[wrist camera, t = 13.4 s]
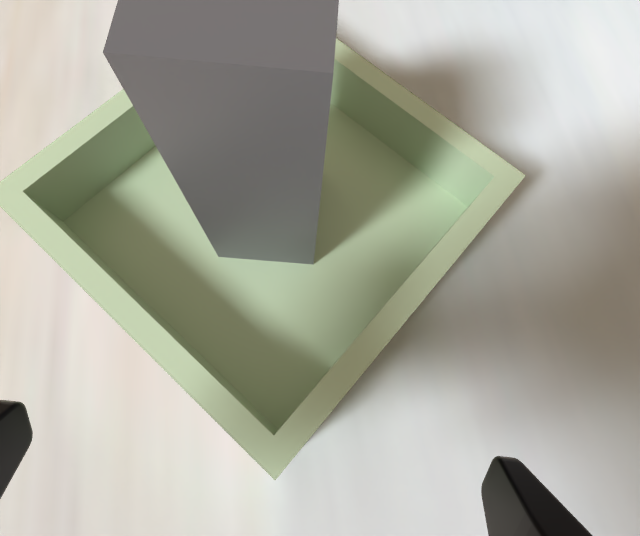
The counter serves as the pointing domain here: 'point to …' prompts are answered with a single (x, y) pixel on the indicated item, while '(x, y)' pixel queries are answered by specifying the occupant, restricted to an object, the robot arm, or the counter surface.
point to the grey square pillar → (235, 111)
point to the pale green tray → (266, 276)
